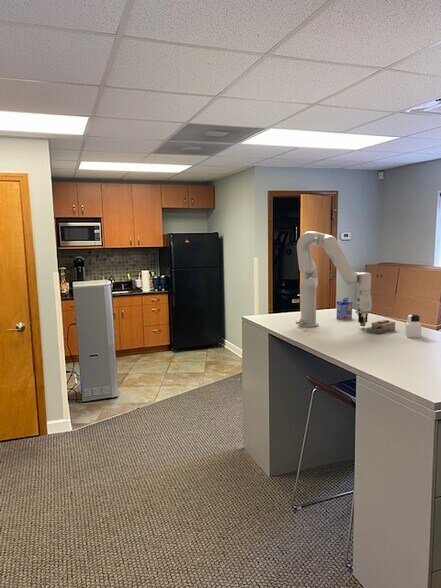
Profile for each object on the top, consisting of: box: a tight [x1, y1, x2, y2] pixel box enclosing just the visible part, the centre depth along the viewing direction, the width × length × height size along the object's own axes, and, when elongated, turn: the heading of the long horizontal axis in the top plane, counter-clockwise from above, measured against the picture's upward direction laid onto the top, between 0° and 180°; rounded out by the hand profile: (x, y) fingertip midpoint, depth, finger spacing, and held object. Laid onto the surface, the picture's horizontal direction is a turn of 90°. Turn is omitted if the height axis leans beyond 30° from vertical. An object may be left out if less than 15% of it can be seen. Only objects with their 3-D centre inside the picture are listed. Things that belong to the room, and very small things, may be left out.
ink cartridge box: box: [335, 297, 353, 321], centre depth 291 cm, size 10×6×14 cm, turn 115°
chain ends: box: [366, 319, 396, 335], centre depth 250 cm, size 16×8×6 cm, turn 125°
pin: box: [359, 312, 367, 327], centre depth 259 cm, size 3×3×10 cm
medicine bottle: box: [404, 314, 422, 339], centre depth 235 cm, size 7×7×12 cm
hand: (362, 322), depth 260 cm, fingers closed on pin, 3 cm apart
